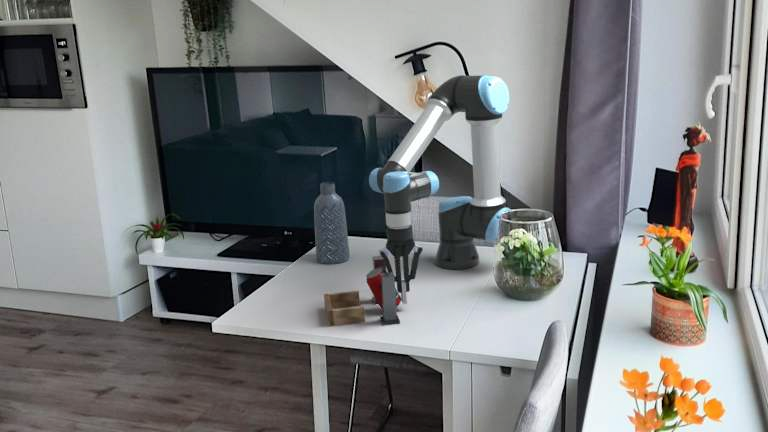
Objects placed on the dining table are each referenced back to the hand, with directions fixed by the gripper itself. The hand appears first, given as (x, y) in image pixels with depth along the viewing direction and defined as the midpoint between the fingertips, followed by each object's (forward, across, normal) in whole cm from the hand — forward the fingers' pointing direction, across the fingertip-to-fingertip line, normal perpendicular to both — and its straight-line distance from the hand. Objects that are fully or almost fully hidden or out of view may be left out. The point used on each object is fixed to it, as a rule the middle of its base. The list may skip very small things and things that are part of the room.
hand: (404, 302), depth 226 cm
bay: (+2, +18, 0) cm, 18 cm away
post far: (+2, +6, -9) cm, 11 cm away
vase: (+2, +16, -56) cm, 58 cm away
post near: (+2, +6, +8) cm, 10 cm away
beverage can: (+1, +4, 0) cm, 4 cm away
